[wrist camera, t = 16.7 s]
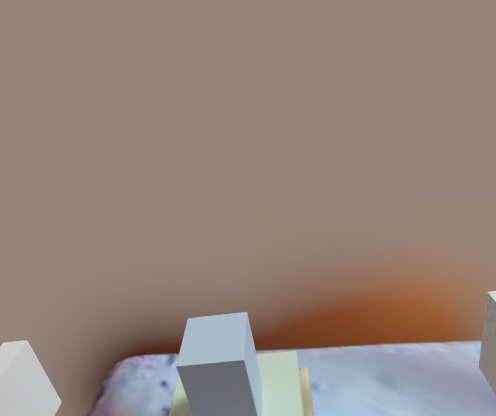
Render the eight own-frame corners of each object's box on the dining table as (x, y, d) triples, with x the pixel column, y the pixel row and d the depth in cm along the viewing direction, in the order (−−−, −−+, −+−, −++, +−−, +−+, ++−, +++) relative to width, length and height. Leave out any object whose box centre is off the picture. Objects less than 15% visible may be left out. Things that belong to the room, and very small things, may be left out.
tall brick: (262, 382, 43) (246, 312, 38) (262, 434, 37) (244, 359, 33) (209, 387, 43) (188, 318, 39) (201, 439, 38) (176, 366, 34)
